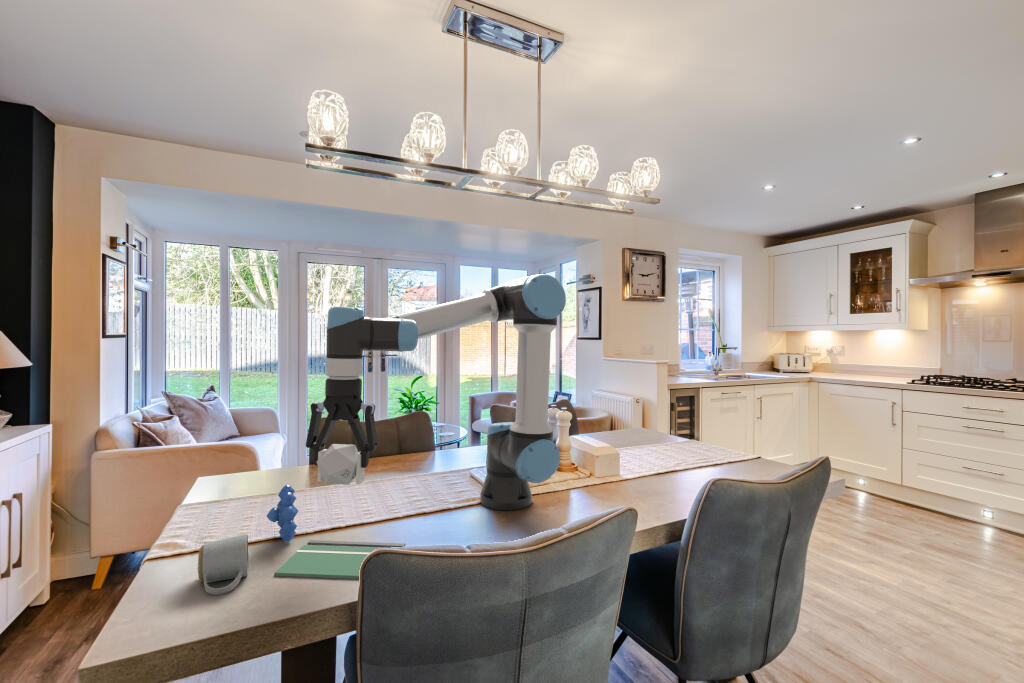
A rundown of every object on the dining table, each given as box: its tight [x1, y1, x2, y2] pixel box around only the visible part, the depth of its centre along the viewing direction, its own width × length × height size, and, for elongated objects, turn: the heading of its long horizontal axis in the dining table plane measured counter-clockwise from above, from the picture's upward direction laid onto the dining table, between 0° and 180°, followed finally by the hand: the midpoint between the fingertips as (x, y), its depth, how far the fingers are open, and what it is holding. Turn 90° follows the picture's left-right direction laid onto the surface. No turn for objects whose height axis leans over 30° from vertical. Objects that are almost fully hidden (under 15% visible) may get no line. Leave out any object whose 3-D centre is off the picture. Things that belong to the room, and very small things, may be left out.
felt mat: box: [274, 544, 379, 580], centre depth 96 cm, size 22×12×1 cm, turn 89°
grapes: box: [266, 484, 299, 543], centre depth 107 cm, size 12×7×12 cm, turn 31°
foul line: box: [307, 539, 406, 548], centre depth 105 cm, size 22×1×1 cm, turn 89°
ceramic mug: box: [197, 533, 250, 596], centre depth 88 cm, size 11×8×8 cm
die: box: [316, 443, 359, 486], centre depth 101 cm, size 8×9×10 cm
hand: (341, 480), depth 101 cm, fingers closed on die, 8 cm apart
